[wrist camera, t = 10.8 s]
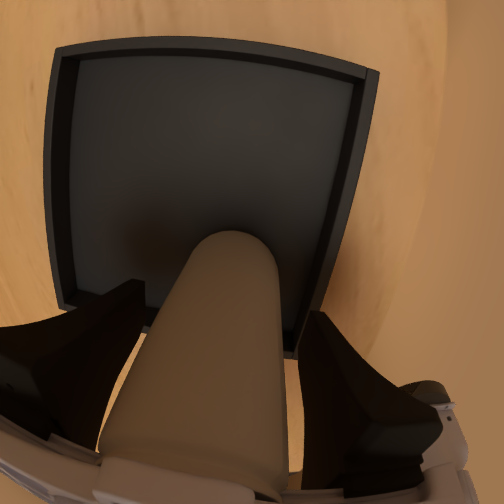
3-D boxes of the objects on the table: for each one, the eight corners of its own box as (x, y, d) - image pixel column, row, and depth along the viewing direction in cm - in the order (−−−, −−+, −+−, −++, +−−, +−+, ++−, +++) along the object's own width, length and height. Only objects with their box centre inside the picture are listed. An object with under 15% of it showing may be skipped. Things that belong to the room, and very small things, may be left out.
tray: (364, 78, 12) (380, 71, 10) (298, 335, 18) (301, 361, 16) (78, 53, 11) (54, 47, 9) (75, 290, 18) (58, 308, 16)
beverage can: (189, 302, 17) (119, 502, 6) (188, 222, 15) (55, 431, 4) (273, 310, 17) (274, 527, 6) (284, 230, 15) (312, 478, 4)
